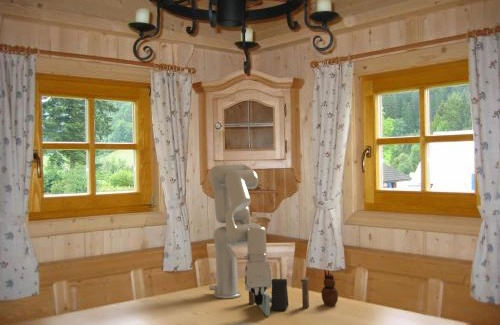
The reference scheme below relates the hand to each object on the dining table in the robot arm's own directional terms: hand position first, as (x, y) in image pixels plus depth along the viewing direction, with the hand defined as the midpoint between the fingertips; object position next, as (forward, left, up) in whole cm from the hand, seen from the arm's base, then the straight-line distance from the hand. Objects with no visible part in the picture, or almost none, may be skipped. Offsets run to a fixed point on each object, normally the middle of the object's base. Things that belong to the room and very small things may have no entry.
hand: (258, 304), depth 206 cm
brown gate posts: (+3, +17, -5) cm, 18 cm away
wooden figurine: (+24, +23, -5) cm, 33 cm away
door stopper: (+5, +13, -5) cm, 15 cm away
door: (0, +8, -4) cm, 9 cm away
